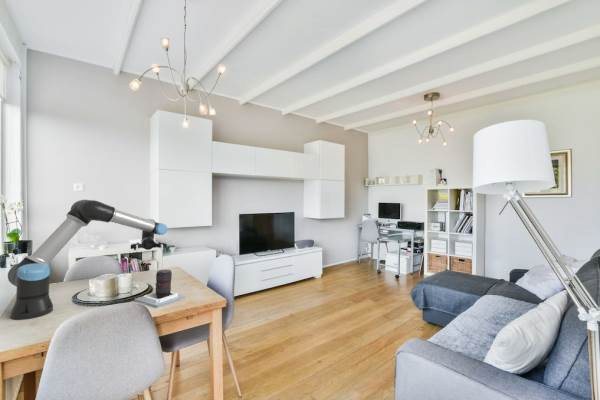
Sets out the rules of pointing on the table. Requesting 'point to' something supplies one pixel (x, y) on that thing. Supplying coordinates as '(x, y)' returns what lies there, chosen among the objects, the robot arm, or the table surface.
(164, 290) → the camera lens
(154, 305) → the board
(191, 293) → the table surface
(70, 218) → the robot arm
